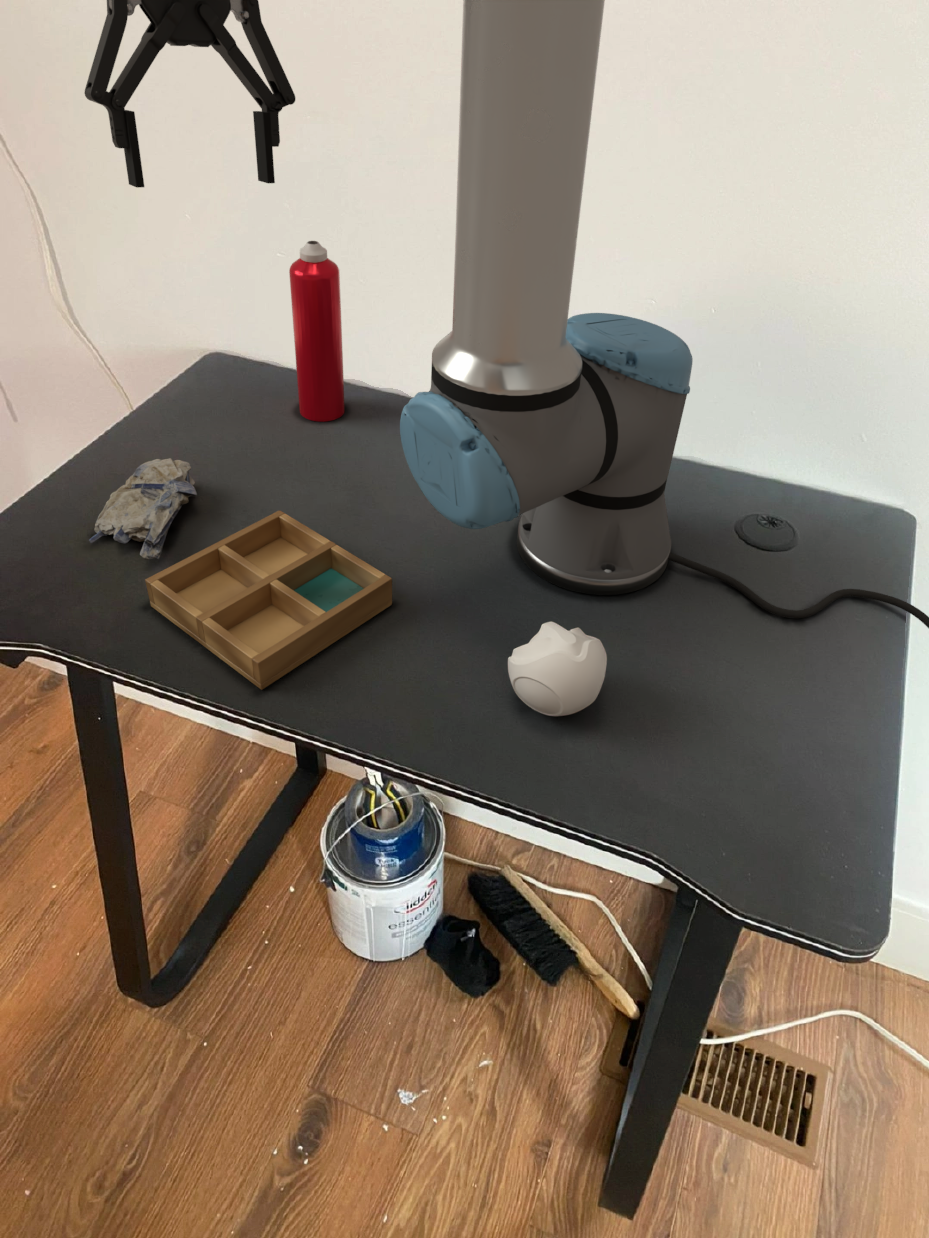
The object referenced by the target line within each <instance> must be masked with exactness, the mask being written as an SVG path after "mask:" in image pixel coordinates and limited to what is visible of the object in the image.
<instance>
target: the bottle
mask: <svg viewBox="0 0 929 1238" xmlns="http://www.w3.org/2000/svg"><path fill="white" fill-rule="evenodd" d="M288 273H289V285H290V300H291V301H290V302H291V315H292V327H293V328H292V329H293V339H294V340H293V341H294V352H295V353H294V354H295V367H296V368H295V369H296V380H297V381H296V382H297V396H298V407H299V409H298V410H299V414H300V416H301V417H303V418H304V419H307V420H309V421H313V422H320V423H321V422H322V423H323V422H332V421H334V420H337V419H339V418H342V416H343V415H345V412H346V411H345V410H346V409H345V407H346V406H345V405H346V404H345V384H344V383H345V381H344V380H345V379H344V355H343V354H344V353H343V329H342V305H341V304H342V302H341V276H340V275H341V274H340V268H339V266H338V265H337V263H336V262H335V261H333V260H332V259H330V258H328V250H327V249H326V248H325V247H324V246H322V244H321V243H320V242H319V241H317V240H308V241H307V242H306V243H305V244H304V246H302V247H301V248H300V249H299V258H298V259H296V260H294V261H293V262H292V263H291V265H290V266H289V272H288Z"/></svg>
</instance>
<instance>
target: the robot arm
mask: <svg viewBox="0 0 929 1238" xmlns="http://www.w3.org/2000/svg"><path fill="white" fill-rule="evenodd" d="M605 1H606V0H462V25H461V27H462V28H461V54H460V56H461V57H460V86H459V87H460V88H459V90H460V91H459V114H458V116H459V118H458V147H457V148H458V150H457V177H456V179H457V181H456V207H455V208H456V209H455V234H454V235H455V240H454V267H453V269H454V270H453V298H452V299H453V300H452V301H453V302H452V329H451V331H450V332H449V333H447V334H446V335H445V336H444V337H443V338H441V339H440V340H439V341H437V343H436V344H435V345H434V347H433V349H432V352H431V375H430V388H429V391H418V392H417V393H416V394H415V395H414V396H413V397H411V398H410V399H409V401H408V403H406V404H405V405H404V406H403V408H402V410H401V413H400V414H401V415H400V420H399V434H400V435H399V436H400V441H401V447H402V451H403V454H404V458H405V460H406V464H407V466H408V469H409V471H410V472H411V475H412V477H413V479H414V480H415V482H416V484H417V485H418V487H419V489H420V491H421V492H422V494H423V495H424V496H425V498H426V499H427V501H428V502H429V503H430V505H431V506H432V507H433V508H434V509H435V510H436V511H437V512H438V513H439V514H440V515H441V516H442V517H444V518H445V519H446V520H448V521H449V522H450V523H453V524H454V525H456V526H458V527H461V528H463V529H469V530H480V529H484V528H485V529H486V528H488V527H491V526H495V525H498V524H499V523H500V524H501V523H503V522H512V521H513V520H514V519H517V518H518V517H519V516H520V515H521V516H520V517H519V520H518V527H517V537H516V538H517V539H516V547H517V548H516V549H517V551H518V554H519V556H520V558H521V560H522V561H523V562H524V564H525V565H526V566H527V567H528V569H530V570H531V571H532V573H534V574H536V575H537V576H538V577H540V578H541V579H543V580H545V581H546V582H548V583H550V584H552V585H555V586H557V587H559V588H563V589H565V590H568V591H571V592H576V593H579V594H580V593H581V594H586V595H595V596H596V595H597V596H615V595H623V594H624V595H625V594H629V593H632V592H637V591H639V590H642V589H645V588H647V587H648V586H650V585H652V584H654V583H655V582H656V581H658V579H659V578H661V576H662V575H663V574H664V572H665V570H666V568H667V566H668V562H669V561H671V562H674V563H676V564H679V565H681V566H684V567H686V568H689V569H691V570H694V571H697V572H699V573H701V574H704V575H707V576H710V577H712V578H714V579H717V580H719V581H722V582H723V583H726V584H727V585H729V586H731V587H733V588H734V589H736V590H737V591H739V592H740V593H742V594H743V595H744V596H745V597H747V598H748V599H749V600H750V601H751V602H753V603H754V604H755V605H757V606H758V607H759V608H761V609H762V610H764V611H766V612H769V613H771V614H773V615H776V616H779V617H783V618H789V619H805V618H809V617H811V616H814V615H816V614H818V613H819V612H822V610H824V609H825V608H826V607H827V606H829V605H830V604H832V603H833V602H835V601H837V600H839V599H842V598H847V597H848V598H849V597H854V598H855V597H857V598H864V599H868V600H874V601H878V602H882V603H886V604H889V605H892V606H895V607H897V608H899V609H901V610H903V611H905V612H907V613H909V614H910V615H911V616H913V617H915V618H916V619H917V620H919V622H921V623H922V624H924V626H925V627H926V628H927V629H929V615H927V614H926V613H925V612H924V611H922V610H921V609H919V608H918V607H916V606H914V605H913V604H911V603H909V602H907V601H905V600H903V599H900V598H897V597H895V596H892V595H888V594H885V593H880V592H876V591H871V590H865V589H858V588H844V589H839V590H836V591H834V592H831V593H830V594H829V595H827V596H825V597H824V598H822V599H821V600H820V601H819V602H817V603H816V604H814V605H812V606H810V607H809V608H804V609H798V610H795V609H787V608H782V607H779V606H776V605H774V604H772V603H770V602H768V601H767V600H765V599H763V598H762V597H760V595H758V594H757V593H756V592H754V591H753V590H752V589H751V588H750V587H748V586H747V585H746V584H744V583H742V582H741V581H740V580H738V579H736V578H734V577H733V576H730V575H729V574H726V573H724V572H722V571H719V570H716V569H714V568H712V567H709V566H707V565H705V564H701V563H699V562H697V561H693V560H691V559H688V558H686V557H684V556H681V555H678V554H675V553H673V552H671V550H672V538H671V533H670V532H671V531H670V525H669V517H668V510H667V503H666V497H665V496H666V495H665V491H666V487H667V481H668V477H669V474H670V469H671V466H672V460H673V456H674V452H675V449H676V444H677V439H678V437H679V436H678V435H679V432H680V427H681V422H682V418H683V414H684V409H685V406H686V405H685V404H686V401H687V400H686V399H687V397H688V395H689V394H690V392H691V386H690V381H691V376H692V368H693V362H694V361H693V354H692V353H691V349H690V347H689V345H688V344H687V343H686V342H685V340H683V339H682V338H681V337H680V336H678V335H677V334H676V333H674V332H672V331H671V330H669V329H667V328H664V327H662V326H660V325H658V324H656V323H652V322H650V321H647V320H643V319H640V318H636V317H631V316H627V315H623V314H616V313H607V312H587V313H585V312H584V313H579V314H574V315H572V316H570V317H569V311H570V302H571V297H572V296H571V295H572V287H573V278H574V277H573V276H574V270H575V261H576V252H577V245H578V244H577V243H578V234H579V226H580V217H581V208H582V202H583V201H582V200H583V192H584V185H585V174H586V165H587V157H588V149H589V139H590V132H591V131H590V129H591V124H592V123H591V122H592V116H593V115H592V113H593V103H594V96H595V88H596V80H597V71H598V64H599V63H598V62H599V53H600V47H601V46H600V44H601V37H602V27H603V18H604V11H605V10H604V9H605V4H606V3H605ZM137 6H139V8H140V10H141V11H142V12H143V14H144V15H145V16H146V18H147V19H148V21H149V22H150V23H149V24H148V26H147V27H146V28H145V31H144V33H143V34H142V36H141V38H140V40H139V41H140V42H139V43H138V45H137V47H136V48H135V49H134V51H133V53H132V55H130V58H129V59H128V61H127V63H126V64H125V66H124V67H123V68H122V71H121V72H120V74H119V76H118V77H117V79H116V81H115V82H114V84H113V86H112V87H111V89H110V90H109V91H108V86H109V83H110V81H111V78H112V74H113V70H114V67H115V64H116V61H117V57H118V54H119V50H120V47H121V44H122V40H123V37H124V33H125V30H126V27H127V24H128V23H127V22H128V17H131V16H132V15H133V14H135V9H136V7H137ZM231 12H232V14H233V15H234V18H235V20H236V21H237V22H238V23H240V24H241V27H242V30H243V32H244V34H245V36H246V39H247V42H248V43H249V45H250V48H251V50H252V53H253V54H254V56H255V58H256V60H257V62H258V65H259V67H260V69H261V71H262V73H263V75H264V77H265V80H266V82H267V84H268V85H267V84H266V83H265V81H264V79H263V78H262V77H261V76H260V74H259V73H258V72H257V70H256V69H255V68H254V66H253V65H252V64H251V63H250V61H249V59H248V58H247V57H246V56H245V55H244V53H243V51H242V50H241V49H240V48H239V46H238V45H237V42H236V40H235V38H234V37H233V35H231V33H230V32H229V30H228V29H227V27H226V26H225V23H226V21H227V19H228V18H229V15H230V13H231ZM103 23H104V24H103V26H102V29H101V34H100V37H99V40H98V44H97V47H96V50H95V54H94V57H93V61H92V64H91V68H90V71H89V75H88V77H87V78H88V79H87V80H86V85H85V88H84V96H85V98H86V99H87V100H88V101H91V102H93V103H96V104H98V105H100V106H103V107H104V108H105V109H106V111H107V113H108V119H109V120H108V121H109V127H110V133H111V140H112V143H113V144H114V147H115V148H116V149H123V152H124V160H125V168H126V173H127V180H128V185H129V186H131V187H135V188H145V181H144V180H145V179H144V174H143V173H144V172H143V166H142V158H141V151H140V143H139V136H138V128H137V122H136V113H135V111H134V110H128V109H125V108H126V106H127V104H128V103H129V102H130V101H131V100H130V99H131V98H132V96H133V95H134V93H135V92H136V90H137V89H138V87H139V85H140V83H141V82H142V81H143V80H144V77H145V76H146V74H147V73H148V70H149V69H150V67H151V66H152V64H153V62H154V61H155V59H156V58H157V56H158V54H159V53H160V51H162V50H163V48H165V46H166V44H167V45H169V46H171V47H186V46H191V47H195V48H209V47H212V48H213V49H214V51H215V52H216V53H218V54H219V56H221V58H222V59H223V60H224V62H225V63H226V64H227V66H228V67H229V68H230V70H231V71H232V72H233V73H234V75H235V76H236V77H237V79H238V80H239V81H240V82H241V84H242V85H243V87H244V88H245V89H246V90H247V92H248V93H249V95H250V96H251V97H252V99H253V100H254V101H255V102H256V103H257V105H258V106H259V108H260V109H261V110H259V111H258V110H252V115H253V116H252V117H253V129H254V143H255V155H256V156H255V157H256V168H257V169H256V170H257V181H258V182H261V183H264V184H276V181H275V179H276V178H275V168H274V167H275V166H274V165H275V163H274V150H273V148H274V147H276V148H277V147H279V146H280V142H281V136H280V121H279V120H280V119H279V113H280V112H281V111H282V110H283V108H285V107H288V106H289V105H290V106H292V105H294V104H295V102H296V94H295V93H294V91H293V88H292V86H291V83H290V81H289V79H288V76H287V75H286V73H285V70H284V68H283V66H282V64H281V62H280V59H279V57H278V55H277V53H276V50H275V48H274V46H273V44H272V42H271V40H270V39H271V38H269V37H270V36H269V34H268V32H267V31H266V27H265V26H264V24H263V22H262V16H261V9H260V3H259V0H106V16H105V20H104V22H103ZM268 86H269V87H268Z"/></svg>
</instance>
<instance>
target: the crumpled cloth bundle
mask: <svg viewBox="0 0 929 1238" xmlns="http://www.w3.org/2000/svg"><path fill="white" fill-rule="evenodd" d="M190 470H192V466H191V463H189V462H188V461H184V460H180V459H176V460H173V459H172V458H171V457H169V458H165V459H164V458H163V459H160V458H156V459H153V460H147V461H146V462H144V463H142V464H140V465H138V467H137V468H135V470H134V471H133V474H131V475H130V476H129V477H128V479H125V484H122V485H121V486H120V487H119V488H117V489H116V490H115V491H113V492H112V493H111V494H110V495H109V499H108V500H107V501H106V502H105V505H104V507H103V509H102V510H101V512H100V513H99V514H98V517H97V518H96V521H95V524H94V529H93V530H94V532H95V533H96V534H94V535H93V536H92V537H91V538H89V539H88V541H89V543H90V544H93V543H94V542H96V541H97V540H99V539H100V538H102V537H104V536H105V537H107V536H112V535H113V537H112V538H113V540H114V541H115V542H118V543H119V544H120V543H121V544H127V543H128V542H129V541H130V540H133V541H137V542H143V544H142V547H141V549H140V552H139V555H140V556H141V557H142V558H143V559H144V560H154V559H156V560H159V559H160V557H161V555H162V552H163V547H164V544H165V541H166V537H167V535H168V532H169V529H170V527H171V524H172V522H173V521H174V519H175V517H176V516H177V515H178V513H179V511H180V510H181V508H182V506H184V505H186V504H188V503H189V497H194V498H195V497H197V496H198V493H197V491H196V488H195V486H194V485H195V483H196V481H195V480H194V479H193V478H192V476H191V475H190Z"/></svg>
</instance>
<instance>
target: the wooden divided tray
mask: <svg viewBox="0 0 929 1238" xmlns="http://www.w3.org/2000/svg"><path fill="white" fill-rule="evenodd" d="M144 582H145V586H146V590H147V594H148V599H149V605H150V607H151V608H153V609H154V610H155V611H156V612H158V613H160V614H161V616H163V617H165V618H166V619H167V620H169V621H170V622H171V623H173V624H174V625H175V626H177V627H178V628H179V629H181V631H183V632H184V633H186V634H187V635H189V637H191V638H192V639H193V640H195V641H196V642H198V643H199V644H200V645H202V646H203V647H204V648H205V649H207V650H208V651H210V652H211V653H212V654H213V655H215V656H216V657H217V658H219V659H220V660H221V661H223V663H225V664H227V666H229V667H231V668H232V669H233V670H234V671H236V672H237V673H238V674H240V675H241V676H243V677H244V678H245V679H247V680H248V681H249V682H251V683H252V684H253V685H254V686H255V687H257V688H258V689H259V690H261V691H263V690H264V689H266V688H267V687H269V686H270V685H272V684H273V683H275V682H276V681H278V680H279V679H280V678H282V677H284V676H285V675H287V674H288V673H290V672H292V671H293V670H294V669H296V668H298V667H299V666H301V665H302V664H303V663H305V662H307V661H308V660H310V659H311V658H312V657H314V656H316V655H317V654H319V653H320V652H322V651H324V650H325V649H327V648H328V647H330V646H331V645H333V644H334V643H336V642H337V641H338V640H340V639H342V638H343V637H345V636H346V635H348V634H349V633H352V631H354V630H355V629H357V628H358V627H360V626H362V625H363V624H365V623H366V622H368V621H370V620H371V619H372V618H373V617H375V616H376V615H379V614H380V613H381V612H383V611H384V610H386V609H387V608H389V607H390V606H392V605H393V578H392V577H390V576H389V575H387V574H385V573H384V572H383V571H380V569H377V568H375V567H374V566H373V565H371V564H369V563H367V562H366V561H364V560H363V559H361V558H359V557H358V556H356V555H355V554H353V553H351V552H350V551H348V550H346V549H344V548H343V547H341V546H340V545H338V544H336V543H335V542H334V541H331V540H329V539H328V538H327V537H325V536H323V535H321V534H320V533H318V532H317V531H315V530H313V528H310V527H308V526H307V525H305V524H304V523H302V522H300V521H298V520H297V519H295V518H293V517H292V516H290V515H288V514H287V513H285V512H284V511H282V510H277V511H275V512H273V513H272V514H270V515H267V516H265V517H264V518H262V519H260V520H258V521H256V522H254V523H252V524H250V525H248V526H246V527H244V528H243V529H240V530H238V531H237V532H235V533H232V534H230V535H229V536H227V537H225V538H223V539H221V540H219V541H217V542H215V543H213V544H211V545H209V546H207V547H205V548H203V549H202V550H199V551H198V552H195V553H193V554H192V555H190V556H188V557H186V558H184V559H182V560H180V561H178V562H176V563H175V564H172V565H170V566H168V567H167V568H165V569H163V570H161V571H158V572H157V573H155V574H153V575H151V576H149V577H147V578H145V579H144Z"/></svg>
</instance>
